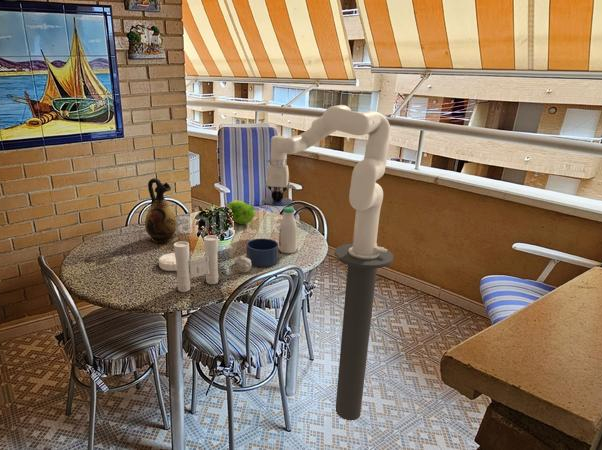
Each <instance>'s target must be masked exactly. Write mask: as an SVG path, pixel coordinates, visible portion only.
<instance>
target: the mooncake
mask: <svg viewBox="0 0 602 450" xmlns="http://www.w3.org/2000/svg"><path fill="white" fill-rule="evenodd" d="M158 266H159V268H160V269H161V270H163V271H167V272H177V268H176V258H175V253H174V252H170V253H165V254H163V255H161V256H160V257H159V258H158Z"/></svg>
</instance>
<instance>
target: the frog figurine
mask: <svg viewBox="0 0 602 450" xmlns="http://www.w3.org/2000/svg"><path fill="white" fill-rule="evenodd" d="M234 262H235V265H236V266H237V269H238V270H239V272H241V273H247V272H249V271H250V269H251V267H252V263H251V260H250V259H248V258H246V256H244V255H241V256H240V255H238V256H237V258H236V259H235V261H234Z"/></svg>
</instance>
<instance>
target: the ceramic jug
mask: <svg viewBox="0 0 602 450" xmlns="http://www.w3.org/2000/svg"><path fill="white" fill-rule="evenodd" d="M153 184H155V185H156V187H155V188H153ZM147 187H148V192H149V197H150V199H151V200H150V201H151V202H150V207H149V209H148V211H147V213H146V216H145V220H144V227H145V231H146V233H147V234H148V236H149V237H150V238H151V240H152V239H153V240H152V242H154V243H157V244H163V243H164V244H165V243H169V242H171V240H172V238H173V236H174V235H175V233H176V231H177V228H178V221H177V217H176V214H175V212H174V210H173V208H172V207H171V205H170V204H169V203H168V201H167V200H166V198H165V196H164V194H165V193H167V192H169V191H171V190H172V187H171V186H170V184H169V183H168V182H165V183H162V182H161V180H160V179H158V178H156V177H154V178H150V179H149V180H148V182H147ZM155 193H156V194H155Z"/></svg>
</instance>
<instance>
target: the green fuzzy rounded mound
mask: <svg viewBox="0 0 602 450" xmlns="http://www.w3.org/2000/svg"><path fill="white" fill-rule="evenodd" d="M227 207H229V208H230V209H231V210H232V213H233V218H232V220H233V221H232V220H231V221H232V222H234V223H237V224H238V225H239V224H240V225H246V224H249V223H250V222H251V221H253V219H254V218H255V216H256V211H255V208H254V207H253V206H252V205H251V204H249V203H247V202H245V201H243V200H237V199H235V200H232V201H230V202H229V203H227V204H226V208H227Z"/></svg>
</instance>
